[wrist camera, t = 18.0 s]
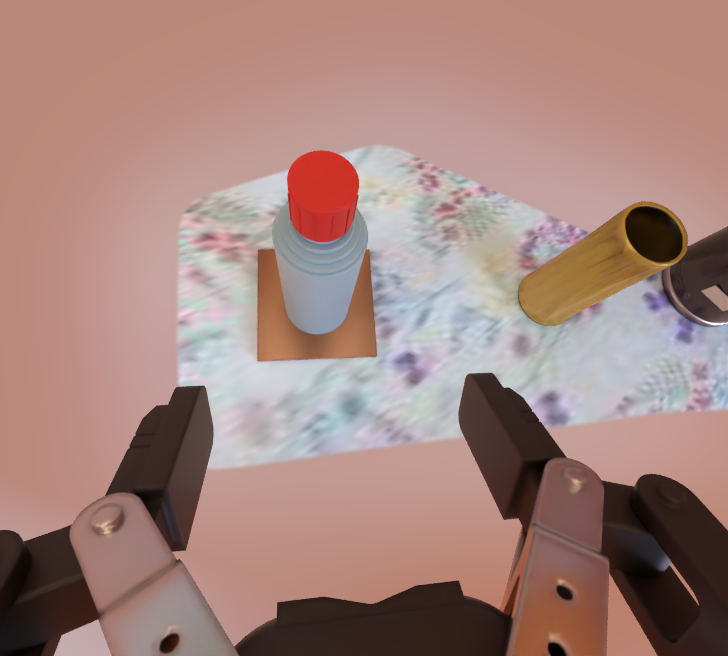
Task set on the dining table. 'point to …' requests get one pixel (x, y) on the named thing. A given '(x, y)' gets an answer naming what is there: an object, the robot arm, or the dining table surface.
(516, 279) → the dining table surface
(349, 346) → the coaster
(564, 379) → the dining table surface
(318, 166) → the cap
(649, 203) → the vase
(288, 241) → the bottle
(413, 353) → the dining table surface
